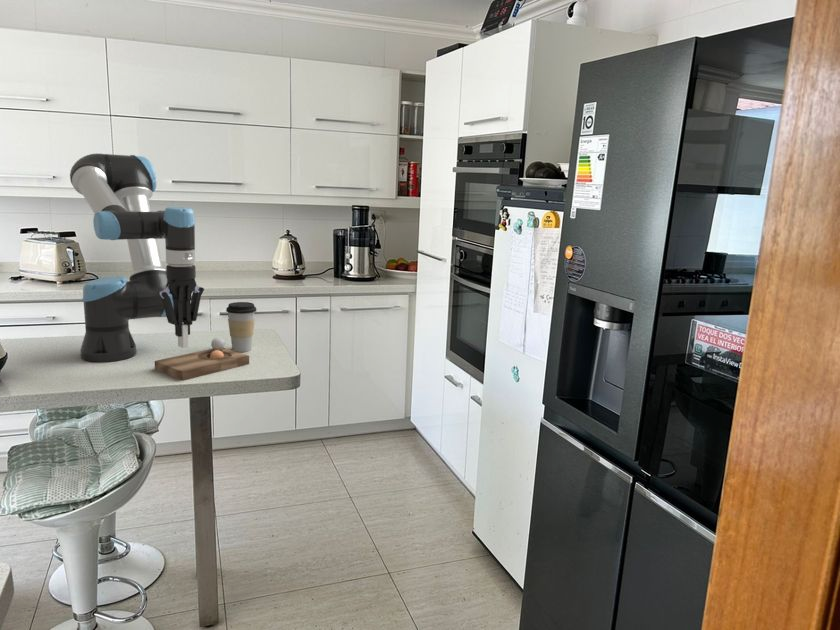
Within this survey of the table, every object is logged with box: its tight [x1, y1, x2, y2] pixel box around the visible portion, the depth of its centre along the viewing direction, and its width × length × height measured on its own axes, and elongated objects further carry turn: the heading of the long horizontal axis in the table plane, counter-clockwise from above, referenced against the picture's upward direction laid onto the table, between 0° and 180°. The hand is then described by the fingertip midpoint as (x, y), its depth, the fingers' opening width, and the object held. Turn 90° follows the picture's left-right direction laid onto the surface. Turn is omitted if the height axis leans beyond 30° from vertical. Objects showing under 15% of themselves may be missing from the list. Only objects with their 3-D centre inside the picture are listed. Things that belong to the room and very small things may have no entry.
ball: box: [210, 350, 224, 358], centre depth 182 cm, size 4×4×4 cm
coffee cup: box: [225, 301, 257, 353], centre depth 197 cm, size 9×9×15 cm
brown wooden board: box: [154, 347, 250, 381], centre depth 179 cm, size 14×22×2 cm, turn 143°
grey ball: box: [210, 337, 226, 351], centre depth 187 cm, size 4×4×4 cm
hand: (183, 346), depth 173 cm, fingers closed
